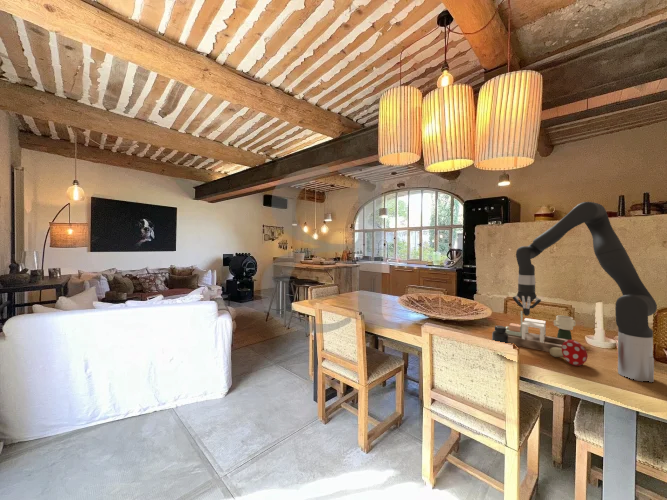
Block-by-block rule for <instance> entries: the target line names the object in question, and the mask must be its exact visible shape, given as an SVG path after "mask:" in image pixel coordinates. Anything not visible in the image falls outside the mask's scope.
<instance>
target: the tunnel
mask: <svg viewBox="0 0 667 500" xmlns="http://www.w3.org/2000/svg"><path fill="white" fill-rule="evenodd" d="M546 324H547V322H546V320H542V319H541V320H540V319H535V318H534V319H533V318H527V317H525V318H524V319H523V322H522V339H525V333H529V328H535V329H539V335H540V342H541V343H544V336H547V335H546V334H547V333H546V330H547V329H546V326H547V325H546Z"/></svg>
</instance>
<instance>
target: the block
mask: <svg viewBox="0 0 667 500" xmlns="http://www.w3.org/2000/svg"><path fill="white" fill-rule="evenodd" d="M508 327H509V330H510V331H516V332H520V331H521V323H520V324H518V323H512V322H510V323H509V325H508Z"/></svg>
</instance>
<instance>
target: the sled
mask: <svg viewBox="0 0 667 500" xmlns="http://www.w3.org/2000/svg"><path fill="white" fill-rule="evenodd" d="M523 315H524V314H523V310H520V325H521V331H520V332H516V331H510V330H509V326H507V325H506V326H505V327H506V333H507V334H510V335H515V336H522V322H523V321H524V319H523V317H524V316H523Z"/></svg>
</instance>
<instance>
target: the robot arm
mask: <svg viewBox="0 0 667 500" xmlns="http://www.w3.org/2000/svg"><path fill="white" fill-rule="evenodd" d="M582 224H584V225H585V226H586V227H587V228H588V231H589V232H590V235H591V237H592V245H593V247H592V248H593V252H594V255H595V257H596V260H597V261H598V263H599V265H600V267H601V268H602V269H603V270H604V272H606V274H607V275H608V276H609V277H610V278H611V279H613V281H614V282H615V283H616V284H617V286H618V287H619V290H620V291H621V294H622V295H621V296H620V297H618V298H617V299H616V302H615V305H614V307H615V312H614V313H615V324H616V326H617V328H618V330H617V336H618V337H617V339H618V340H617V341H618V342H617V373H618V374H619V375H620V376H621V377H624V376H625V377H624V378H626V377H628V378H627V379H629V378H630V380H633V379H634V380H633V381H638V382H643V381H649V382H648V383H652V382H654V381H655V358H654V355H653V354H654V353H653V352H654V349H653V348H654V347H653V346H654V345H653V344H654V340H653V339H654V330H653V329H652V328H650V326H649V317H651V316H652V315H654V314H655V313H657V310H658V304H657V302H656V301H655V299H654V297H653V295H652V294H651V293H650V292H649V290H648V289H647V288H646V286H645V285H644V283H643V281H642V280H641V278H640V275H639V274H638V272H637V270H636V268H635V265H633V262H632V261H631V258H630V256H629V254H628V253H627V250H626V249H625V247H624V245H623V243H622V242H621V239H619V236H618V235H617V234H616V232H615V230H614V228H613V226H612V224H611V221H610V219H609V215H608V213H607V210H606V208H605V207H604V205H602V204H600V203H599V202H594V201H583V202H580V203H578V204H577V205H576V206H574V207H573V208H572V209H571V210H570V211H569V212H568V213H567V214H566V215H565V216H564V217H562V218H561V219H560V220H559V221H558V222H556V223H555V224H554V225H552V226H551V227H550V228H548V229H546V230H545V231H544V232H543V233H541V234H540V235H538V236H537V237H535V238H534V239H533V240H532V243H530V244H529V245H525V246H523V245H522V246H519V247H518V248H517V249H516V252H515V257H516V258H515V259H516V261H517V266H518V276H517V293H516V295H515V296H513V297H512V300H513V301H514V302H515V303H516V305H517V306H519V308H522V311H523V315H524V316H527V317H528V316H529V315H530V314H531V309H534V308H536V306H537V305H539V304H540V303H541V302H542V299H541V298H538V297H537V294H536V275H535V274H536V273H535V271H536V270H535V269H536V268H535V265H534V264H532V259H534V258H537V257H538V256H540V255H541V253H543V252H544V251H545V250H546V249H548V248H549V247H551V246H553V245H555V244H557V242H558V241H560V240H561V239H562V238H563V237H564V236H565V235H566V234H567V233H568V232H569V231H571V230H572V229H574V228H575V227H578V226H580V225H582ZM533 301H534V303H533V304H532V305H531V303H532V302H533ZM521 302H522V303H521ZM654 383H655V382H654Z"/></svg>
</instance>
